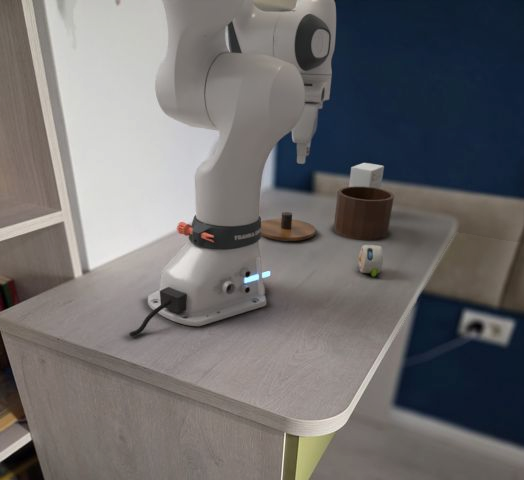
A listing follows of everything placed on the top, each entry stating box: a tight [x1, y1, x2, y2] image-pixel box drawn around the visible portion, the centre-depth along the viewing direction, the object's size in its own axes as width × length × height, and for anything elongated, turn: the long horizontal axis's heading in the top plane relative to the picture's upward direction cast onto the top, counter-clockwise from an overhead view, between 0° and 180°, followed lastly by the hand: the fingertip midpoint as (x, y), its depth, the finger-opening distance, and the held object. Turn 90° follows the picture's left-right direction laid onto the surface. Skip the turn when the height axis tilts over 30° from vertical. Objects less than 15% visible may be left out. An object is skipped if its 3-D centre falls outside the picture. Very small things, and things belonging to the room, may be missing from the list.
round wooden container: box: [333, 186, 395, 241], centre depth 125 cm, size 14×14×10 cm
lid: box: [261, 211, 316, 242], centre depth 123 cm, size 15×15×5 cm
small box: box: [348, 162, 385, 189], centre depth 137 cm, size 8×6×13 cm
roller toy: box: [358, 244, 384, 277], centre depth 103 cm, size 4×6×6 cm
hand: (303, 159), depth 111 cm, fingers open, 8 cm apart
